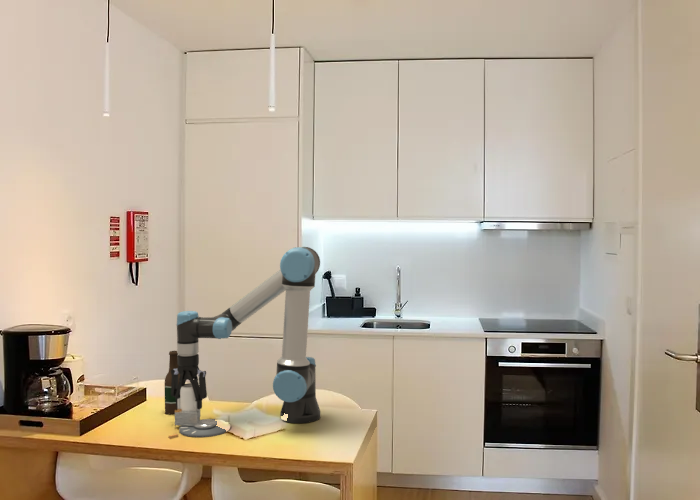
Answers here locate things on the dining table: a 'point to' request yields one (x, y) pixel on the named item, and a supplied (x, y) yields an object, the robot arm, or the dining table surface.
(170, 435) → the small orange block
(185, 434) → the dial plate
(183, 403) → the can
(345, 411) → the dining table surface
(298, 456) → the dining table surface
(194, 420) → the dial
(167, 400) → the beer bottle
